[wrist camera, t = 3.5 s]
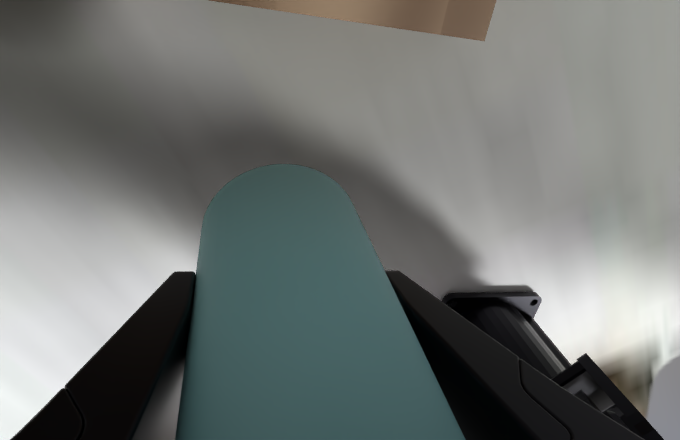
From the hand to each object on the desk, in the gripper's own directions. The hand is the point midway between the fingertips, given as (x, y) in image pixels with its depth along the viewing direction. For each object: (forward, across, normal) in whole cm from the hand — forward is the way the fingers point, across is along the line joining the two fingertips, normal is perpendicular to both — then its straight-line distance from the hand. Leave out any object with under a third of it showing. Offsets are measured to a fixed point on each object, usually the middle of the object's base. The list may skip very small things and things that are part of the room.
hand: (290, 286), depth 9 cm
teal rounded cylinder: (+2, 0, 0) cm, 2 cm away
